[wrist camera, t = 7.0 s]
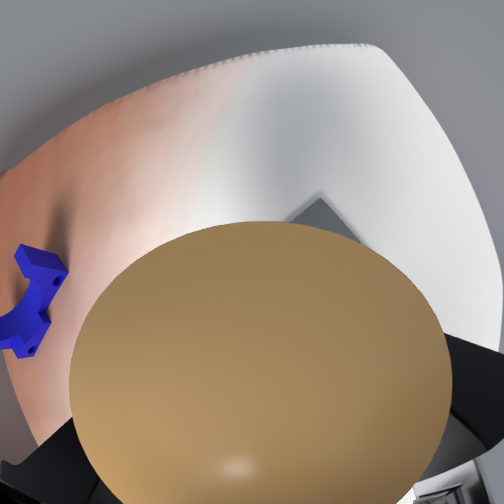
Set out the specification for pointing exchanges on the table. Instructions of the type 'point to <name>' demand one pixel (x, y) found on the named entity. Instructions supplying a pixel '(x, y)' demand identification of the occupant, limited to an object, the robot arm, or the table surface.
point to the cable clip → (32, 301)
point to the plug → (260, 372)
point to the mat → (323, 220)
